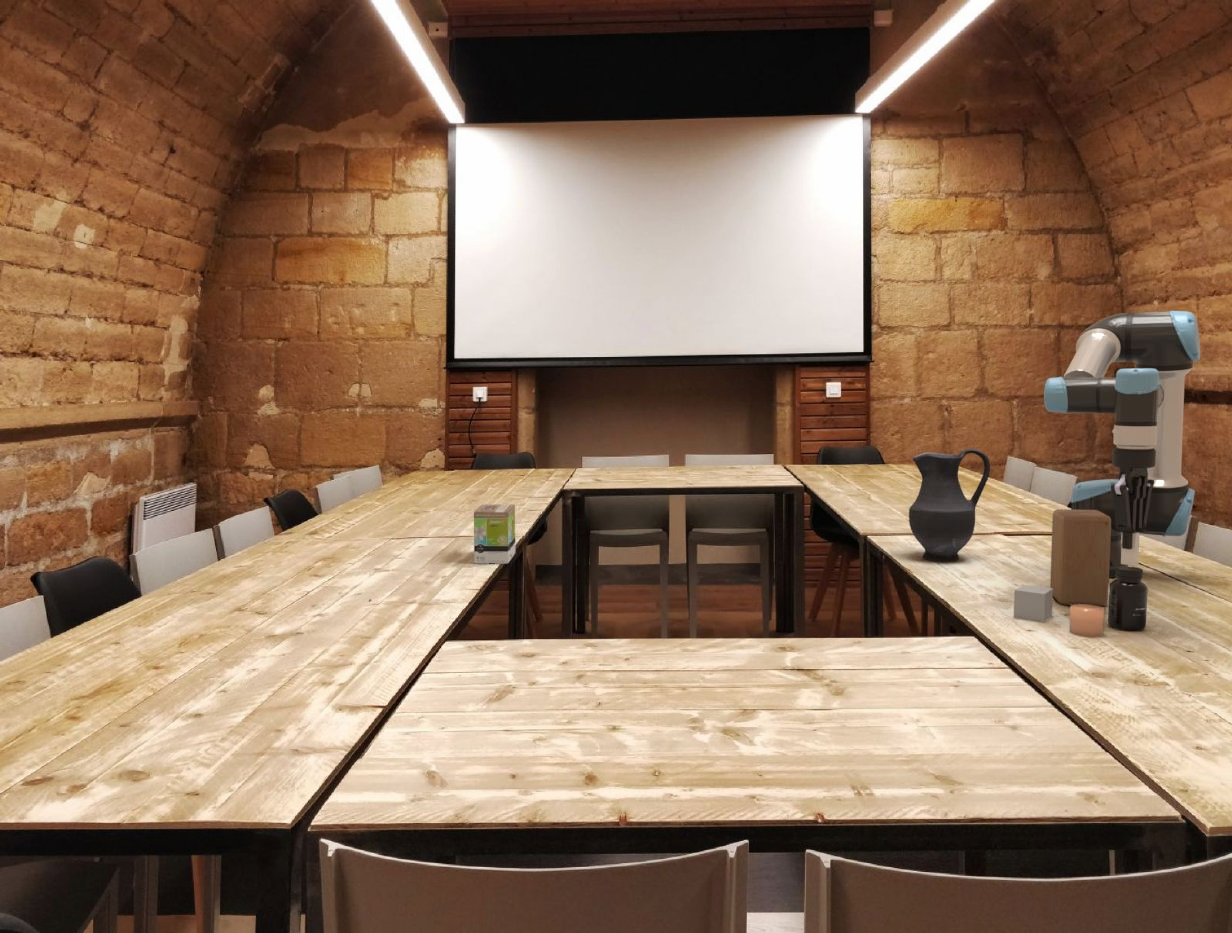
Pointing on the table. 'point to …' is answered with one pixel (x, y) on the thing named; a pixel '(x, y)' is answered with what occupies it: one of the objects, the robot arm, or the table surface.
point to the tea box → (494, 534)
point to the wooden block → (1080, 557)
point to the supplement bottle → (1128, 600)
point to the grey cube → (1033, 603)
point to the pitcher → (944, 505)
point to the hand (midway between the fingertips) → (1129, 564)
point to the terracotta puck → (1086, 620)
